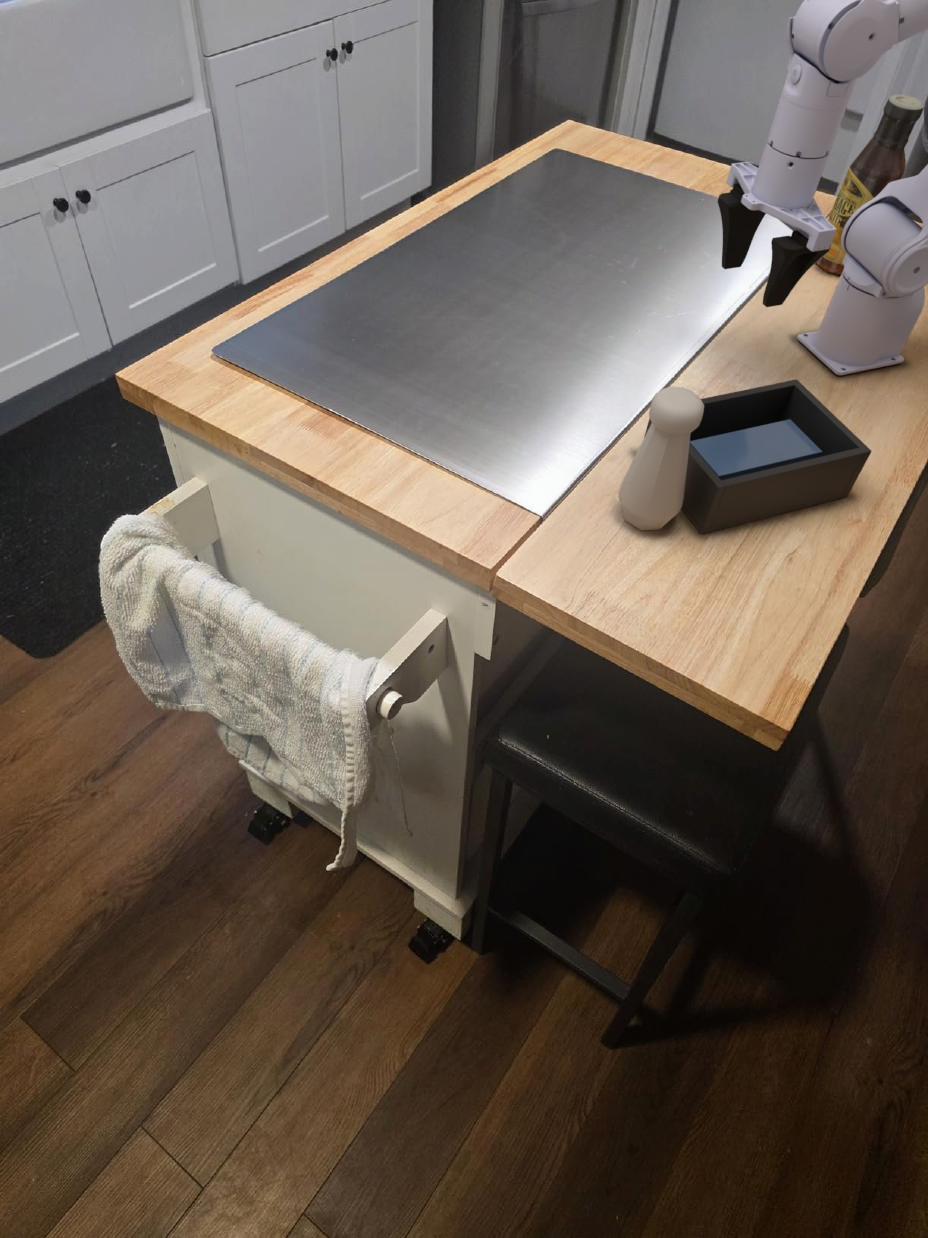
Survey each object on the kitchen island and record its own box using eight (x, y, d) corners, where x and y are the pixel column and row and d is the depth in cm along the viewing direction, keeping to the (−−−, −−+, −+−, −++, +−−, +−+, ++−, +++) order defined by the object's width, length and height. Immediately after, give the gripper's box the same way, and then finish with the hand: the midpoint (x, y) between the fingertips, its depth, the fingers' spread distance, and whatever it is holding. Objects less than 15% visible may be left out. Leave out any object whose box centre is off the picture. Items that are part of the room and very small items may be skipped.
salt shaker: (685, 510, 81) (727, 392, 71) (662, 546, 78) (702, 428, 68) (628, 486, 83) (661, 367, 73) (603, 520, 79) (633, 401, 69)
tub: (777, 424, 91) (796, 378, 86) (847, 496, 84) (872, 450, 80) (638, 455, 86) (651, 408, 82) (700, 534, 79) (718, 487, 75)
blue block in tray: (681, 465, 84) (689, 440, 82) (779, 443, 88) (790, 418, 85) (709, 500, 81) (719, 475, 79) (811, 475, 85) (822, 451, 82)
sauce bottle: (807, 251, 116) (870, 85, 100) (853, 255, 116) (923, 90, 101) (818, 276, 111) (885, 107, 96) (866, 280, 112) (941, 112, 96)
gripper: (718, 117, 83) (681, 255, 93) (810, 184, 74) (759, 328, 85) (779, 111, 85) (737, 247, 95) (876, 176, 76) (817, 317, 87)
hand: (751, 284), depth 90 cm, fingers open, 7 cm apart
